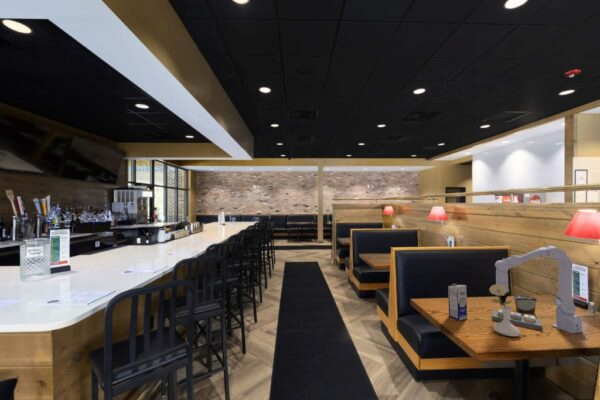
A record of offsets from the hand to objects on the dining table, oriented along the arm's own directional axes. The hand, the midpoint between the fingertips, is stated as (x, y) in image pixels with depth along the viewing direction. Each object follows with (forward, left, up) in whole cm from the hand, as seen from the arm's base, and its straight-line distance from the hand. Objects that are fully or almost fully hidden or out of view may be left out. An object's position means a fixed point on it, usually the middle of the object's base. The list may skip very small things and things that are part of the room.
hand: (502, 304), depth 161 cm
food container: (+5, -21, -9) cm, 23 cm away
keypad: (-5, -4, -8) cm, 10 cm away
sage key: (0, 0, -6) cm, 6 cm away
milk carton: (+7, +24, -9) cm, 27 cm away
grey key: (-5, -4, -6) cm, 9 cm away
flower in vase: (-15, +15, -9) cm, 23 cm away
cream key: (-9, -8, -6) cm, 14 cm away
